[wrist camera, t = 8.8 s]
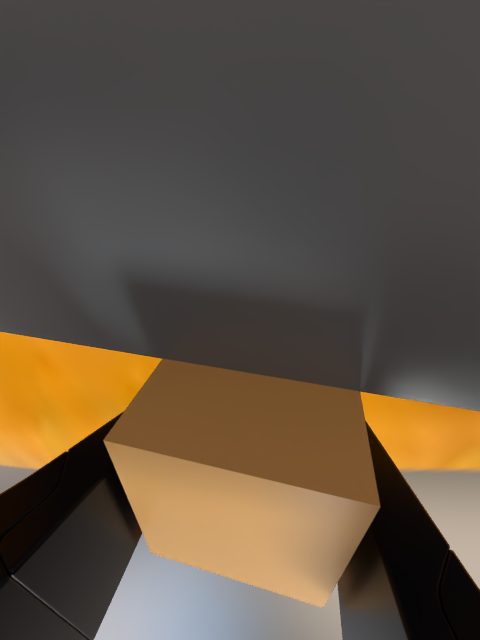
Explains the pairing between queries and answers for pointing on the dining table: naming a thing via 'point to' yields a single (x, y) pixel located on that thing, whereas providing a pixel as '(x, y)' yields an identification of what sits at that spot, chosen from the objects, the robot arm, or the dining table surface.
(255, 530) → the lid
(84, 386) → the dining table surface
